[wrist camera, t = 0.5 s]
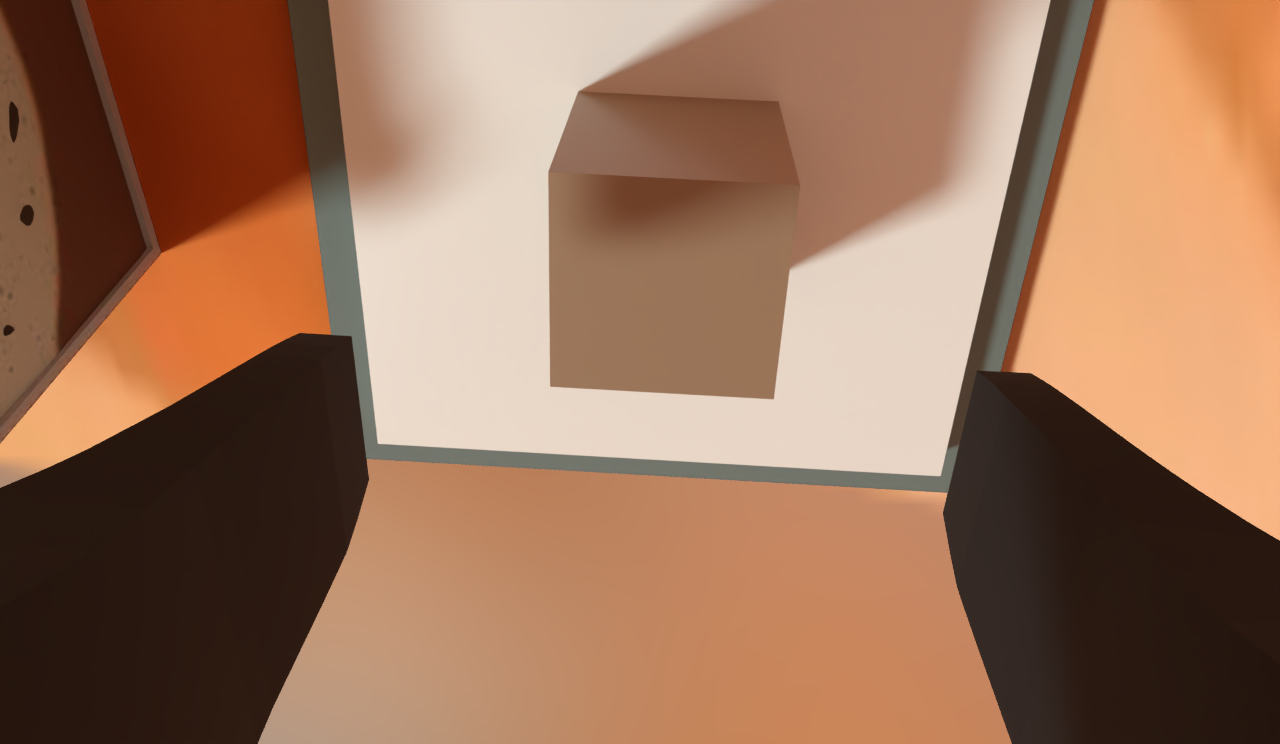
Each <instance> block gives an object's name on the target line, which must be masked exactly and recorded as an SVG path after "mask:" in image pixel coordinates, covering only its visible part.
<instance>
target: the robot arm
mask: <svg viewBox="0 0 1280 744" xmlns="http://www.w3.org/2000/svg"><path fill="white" fill-rule="evenodd" d="M368 481H369V476H368V469H367V460H366V451H365V443H364V435H363V426H362V418H361V410H360V401H359V393H358V385H357V376H356V368H355V360H354V351H353V343H352V336H342V335H324V334H306V333H299V334H297V335H295V336H292V337H290V338H288V339H286V340H284V341H282V342H280V343H278V344H276V345H274V346H273V347H271V348H269V349H267V350H265V351H264V352H262V353H260V354H258V355H257V356H255V357H253V358H251V359H250V360H248V361H246V362H245V363H243V364H241V365H239V366H238V367H236V368H234V369H233V370H231V371H229V372H228V373H226V374H224V375H222V376H221V377H219V378H217V379H215V380H214V381H212V382H210V383H209V384H207V385H205V386H203V387H202V388H200V389H198V390H197V391H195V392H193V393H191V394H190V395H188V396H186V397H184V398H183V399H181V400H179V401H178V402H176V403H174V404H172V405H171V406H169V407H167V408H165V409H163V410H161V411H160V412H158V413H156V414H154V415H152V416H150V417H148V418H146V419H144V420H142V421H141V422H139V423H137V424H135V425H133V426H131V427H129V428H127V429H125V430H123V431H122V432H120V433H118V434H116V435H114V436H112V437H110V438H108V439H106V440H104V441H103V442H101V443H99V444H97V445H95V446H93V447H91V448H89V449H87V450H85V451H83V452H81V453H79V454H77V455H75V456H72V457H70V458H68V459H66V460H64V461H62V462H59V463H57V464H55V465H53V466H51V467H49V468H46V469H44V470H42V471H39V472H37V473H35V474H32V475H30V476H27V477H25V478H23V479H20V480H18V481H16V482H13V483H11V484H9V485H6V486H4V487H1V488H0V744H258V741H259V739H260V737H261V734H262V732H263V729H264V727H265V725H266V722H267V720H268V718H269V715H270V713H271V711H272V708H273V706H274V704H275V702H276V700H277V698H278V696H279V693H280V691H281V689H282V687H283V685H284V683H285V681H286V679H287V677H288V675H289V673H290V671H291V669H292V666H293V664H294V662H295V660H296V658H297V656H298V654H299V652H300V650H301V648H302V645H303V644H304V642H305V639H306V637H307V635H308V633H309V631H310V629H311V627H312V625H313V623H314V621H315V619H316V617H317V614H318V612H319V610H320V608H321V606H322V604H323V602H324V600H325V597H326V595H327V593H328V591H329V589H330V587H331V585H332V583H333V580H334V578H335V576H336V574H337V572H338V570H339V568H340V566H341V563H342V561H343V559H344V556H345V555H346V552H347V550H348V547H349V544H350V541H351V537H352V534H353V531H354V528H355V525H356V522H357V519H358V516H359V512H360V509H361V505H362V502H363V498H364V495H365V491H366V488H367V485H368ZM943 516H944V521H945V527H946V532H947V538H948V544H949V548H950V555H951V560H952V564H953V569H954V574H955V579H956V584H957V588H958V591H959V594H960V597H961V600H962V603H963V606H964V609H965V612H966V615H967V617H968V620H969V623H970V626H971V629H972V632H973V635H974V638H975V641H976V644H977V646H978V649H979V652H980V655H981V657H982V660H983V663H984V666H985V669H986V672H987V675H988V677H989V680H990V683H991V686H992V689H993V691H994V694H995V697H996V700H997V702H998V705H999V708H1000V711H1001V714H1002V717H1003V720H1004V722H1005V725H1006V728H1007V731H1008V733H1009V736H1010V739H1011V742H1012V744H1280V541H1279V540H1277V539H1276V538H1274V537H1272V536H1271V535H1269V534H1267V533H1266V532H1264V531H1262V530H1260V529H1259V528H1257V527H1255V526H1254V525H1252V524H1250V523H1249V522H1247V521H1245V520H1244V519H1242V518H1241V517H1239V516H1238V515H1236V514H1235V513H1233V512H1231V511H1230V510H1228V509H1227V508H1225V507H1224V506H1222V505H1220V504H1219V503H1217V502H1216V501H1214V500H1213V499H1211V498H1210V497H1208V496H1206V495H1205V494H1203V493H1202V492H1200V491H1199V490H1197V489H1196V488H1194V487H1193V486H1191V485H1190V484H1188V483H1187V482H1185V481H1184V480H1182V479H1181V478H1179V477H1178V476H1176V475H1175V474H1173V473H1172V472H1171V471H1169V470H1168V469H1166V468H1165V467H1163V466H1162V465H1161V464H1159V463H1158V462H1156V461H1155V460H1153V459H1152V458H1151V457H1149V456H1148V455H1146V454H1145V453H1144V452H1142V451H1141V450H1139V449H1138V448H1137V447H1135V446H1134V445H1132V444H1131V443H1130V442H1128V441H1127V440H1126V439H1124V438H1123V437H1121V436H1120V435H1119V434H1117V433H1116V432H1115V431H1113V430H1112V429H1111V428H1109V427H1108V426H1106V425H1105V424H1104V423H1102V422H1101V421H1100V420H1098V419H1097V418H1096V417H1094V416H1093V415H1091V414H1090V413H1089V412H1087V411H1086V410H1085V409H1083V408H1082V407H1081V406H1079V405H1078V404H1076V403H1075V402H1074V401H1072V400H1071V399H1069V398H1068V397H1067V396H1065V395H1064V394H1062V393H1061V392H1060V391H1058V390H1057V389H1055V388H1054V387H1052V386H1051V385H1049V384H1048V383H1046V382H1045V381H1043V380H1041V379H1040V378H1038V377H1036V376H1034V375H1033V374H1031V373H1014V372H996V371H978V370H977V372H976V376H975V381H974V385H973V389H972V393H971V398H970V402H969V406H968V410H967V414H966V419H965V423H964V427H963V431H962V435H961V440H960V444H959V448H958V452H957V456H956V461H955V465H954V469H953V473H952V477H951V482H950V486H949V490H948V494H947V498H946V503H945V507H944V511H943Z"/></svg>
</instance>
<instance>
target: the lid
mask: <svg viewBox="0 0 1280 744" xmlns="http://www.w3.org/2000/svg"><path fill="white" fill-rule="evenodd" d="M1050 1H1051V0H328V4H329V13H330V22H331V31H332V40H333V49H334V58H335V67H336V75H337V84H338V93H339V102H340V111H341V120H342V129H343V138H344V147H345V156H346V165H347V174H348V182H349V191H350V200H351V209H352V218H353V227H354V236H355V245H356V254H357V263H358V272H359V280H360V289H361V298H362V307H363V316H364V325H365V334H366V343H367V352H368V361H369V370H370V378H371V387H372V396H373V405H374V414H375V423H376V432H377V441H378V444H391V445H408V446H426V447H443V448H460V449H477V450H495V451H512V452H529V453H546V454H564V455H581V456H598V457H615V458H633V459H650V460H667V461H684V462H702V463H719V464H736V465H753V466H771V467H788V468H805V469H822V470H840V471H857V472H874V473H892V474H909V475H926V476H941V472H942V468H943V464H944V459H945V455H946V451H947V446H948V442H949V438H950V433H951V429H952V425H953V420H954V416H955V412H956V407H957V403H958V399H959V394H960V390H961V386H962V381H963V377H964V373H965V368H966V364H967V360H968V355H969V351H970V347H971V342H972V338H973V334H974V329H975V325H976V321H977V316H978V312H979V308H980V303H981V299H982V295H983V291H984V286H985V282H986V278H987V273H988V269H989V265H990V260H991V256H992V252H993V247H994V243H995V239H996V234H997V230H998V226H999V221H1000V217H1001V213H1002V208H1003V204H1004V200H1005V195H1006V191H1007V187H1008V182H1009V178H1010V174H1011V169H1012V165H1013V161H1014V156H1015V152H1016V148H1017V143H1018V139H1019V135H1020V130H1021V126H1022V122H1023V117H1024V113H1025V109H1026V104H1027V100H1028V96H1029V91H1030V87H1031V83H1032V78H1033V74H1034V70H1035V65H1036V61H1037V57H1038V52H1039V48H1040V44H1041V40H1042V35H1043V31H1044V27H1045V22H1046V18H1047V14H1048V9H1049V5H1050Z"/></svg>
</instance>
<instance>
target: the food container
mask: <svg viewBox="0 0 1280 744" xmlns="http://www.w3.org/2000/svg"><path fill="white" fill-rule="evenodd" d="M160 254H161V251H160V248H159V244H158V241H157V237H156V234H155V231H154V227H153V224H152V221H151V217H150V214H149V211H148V207H147V204H146V201H145V197H144V194H143V191H142V187H141V184H140V181H139V177H138V174H137V171H136V167H135V164H134V160H133V157H132V154H131V150H130V147H129V144H128V140H127V137H126V134H125V130H124V127H123V124H122V120H121V117H120V114H119V110H118V107H117V104H116V100H115V97H114V93H113V90H112V87H111V83H110V80H109V77H108V73H107V70H106V67H105V63H104V60H103V57H102V53H101V50H100V47H99V43H98V40H97V37H96V33H95V30H94V26H93V23H92V20H91V16H90V13H89V10H88V6H87V3H86V0H0V443H1V442H2V441H3V440H4V438H5V437H6V436H7V435H8V434H9V433H10V431H11V430H12V429H13V428H14V427H15V425H16V424H17V423H18V422H19V421H20V420H21V418H22V417H23V416H24V415H25V414H26V412H27V411H28V410H29V409H30V408H31V407H32V405H33V404H34V403H35V402H36V401H37V399H38V398H39V397H40V396H41V395H42V394H43V392H44V391H45V390H46V389H47V388H48V386H49V385H50V384H51V383H52V382H53V381H54V379H55V378H56V377H57V376H58V375H59V373H60V372H61V371H62V370H63V369H64V368H65V366H66V365H67V364H68V363H69V362H70V361H71V359H72V358H73V357H74V356H75V355H76V353H77V352H78V351H79V350H80V349H81V348H82V346H83V345H84V344H85V343H86V342H87V340H88V339H89V338H90V337H91V336H92V335H93V333H94V332H95V331H96V330H97V329H98V327H99V326H100V325H101V324H102V323H103V322H104V320H105V319H106V318H107V317H108V316H109V314H110V313H111V312H112V311H113V310H114V309H115V307H116V306H117V305H118V304H119V303H120V301H121V300H122V299H123V298H124V297H125V296H126V294H127V293H128V292H129V291H130V290H131V288H132V287H133V286H134V285H135V284H136V283H137V281H138V280H139V279H140V278H141V277H142V276H143V274H144V273H145V272H146V271H147V270H148V268H149V267H150V266H151V265H152V264H153V263H154V261H155V260H156V259H157V258H158V257H159V255H160Z"/></svg>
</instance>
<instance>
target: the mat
mask: <svg viewBox="0 0 1280 744" xmlns="http://www.w3.org/2000/svg"><path fill="white" fill-rule="evenodd" d="M287 1H288V9H289V17H290V24H291V32H292V40H293V47H294V55H295V62H296V70H297V78H298V85H299V93H300V100H301V108H302V116H303V123H304V131H305V138H306V146H307V154H308V161H309V169H310V176H311V184H312V192H313V199H314V207H315V214H316V222H317V230H318V237H319V245H320V252H321V260H322V268H323V275H324V283H325V290H326V298H327V306H328V313H329V321H330V328H331V335H342V336H352V343H353V351H354V360H355V368H356V376H357V385H358V393H359V401H360V410H361V418H362V426H363V435H364V443H365V451H366V459H378V460H396V461H414V462H431V463H448V464H465V465H481V466H498V467H515V468H534V469H550V470H567V471H584V472H601V473H619V474H636V475H654V476H670V477H687V478H704V479H721V480H739V481H755V482H756V481H757V482H773V483H790V484H791V483H792V484H807V485H824V486H841V487H858V488H876V489H893V490H910V491H927V492H944V493H948V490H949V486H950V482H951V477H952V473H953V469H954V465H955V461H956V456H957V452H958V448H959V444H960V440H961V435H962V431H963V427H964V423H965V419H966V414H967V410H968V406H969V402H970V398H971V393H972V389H973V385H974V381H975V376H976V372H977V370H978V371H996V372H1001V368H1002V364H1003V360H1004V356H1005V352H1006V348H1007V344H1008V340H1009V336H1010V332H1011V328H1012V324H1013V320H1014V316H1015V312H1016V308H1017V304H1018V300H1019V296H1020V292H1021V288H1022V284H1023V280H1024V276H1025V272H1026V268H1027V264H1028V260H1029V256H1030V253H1031V249H1032V245H1033V241H1034V237H1035V233H1036V229H1037V225H1038V221H1039V217H1040V213H1041V209H1042V205H1043V201H1044V197H1045V193H1046V189H1047V185H1048V181H1049V177H1050V173H1051V169H1052V165H1053V161H1054V157H1055V153H1056V149H1057V145H1058V141H1059V137H1060V133H1061V129H1062V125H1063V121H1064V117H1065V113H1066V109H1067V106H1068V102H1069V98H1070V94H1071V90H1072V86H1073V82H1074V78H1075V74H1076V70H1077V66H1078V62H1079V58H1080V54H1081V50H1082V46H1083V42H1084V38H1085V34H1086V30H1087V26H1088V22H1089V18H1090V14H1091V10H1092V6H1093V2H1094V0H1051V1H1050V5H1049V9H1048V14H1047V18H1046V22H1045V27H1044V31H1043V35H1042V40H1041V44H1040V48H1039V52H1038V57H1037V61H1036V65H1035V70H1034V74H1033V78H1032V83H1031V87H1030V91H1029V96H1028V100H1027V104H1026V109H1025V113H1024V117H1023V122H1022V126H1021V130H1020V135H1019V139H1018V143H1017V148H1016V152H1015V156H1014V161H1013V165H1012V169H1011V174H1010V178H1009V182H1008V187H1007V191H1006V195H1005V200H1004V204H1003V208H1002V213H1001V217H1000V221H999V226H998V230H997V234H996V239H995V243H994V247H993V252H992V256H991V260H990V265H989V269H988V273H987V278H986V282H985V286H984V291H983V295H982V299H981V303H980V308H979V312H978V316H977V321H976V325H975V329H974V334H973V338H972V342H971V347H970V351H969V355H968V360H967V364H966V368H965V373H964V377H963V381H962V386H961V390H960V394H959V399H958V403H957V407H956V412H955V416H954V420H953V425H952V429H951V433H950V438H949V442H948V446H947V451H946V455H945V459H944V464H943V468H942V472H941V476H926V475H909V474H892V473H874V472H857V471H840V470H822V469H805V468H788V467H771V466H753V465H736V464H719V463H702V462H684V461H667V460H650V459H633V458H615V457H598V456H581V455H564V454H546V453H529V452H512V451H495V450H477V449H460V448H443V447H426V446H408V445H391V444H378V441H377V432H376V423H375V414H374V405H373V396H372V387H371V378H370V370H369V361H368V352H367V343H366V334H365V325H364V316H363V307H362V298H361V289H360V280H359V272H358V263H357V254H356V245H355V236H354V227H353V218H352V209H351V200H350V191H349V182H348V174H347V165H346V156H345V147H344V138H343V129H342V120H341V111H340V102H339V93H338V84H337V75H336V67H335V58H334V49H333V40H332V31H331V22H330V13H329V4H328V0H287Z"/></svg>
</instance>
